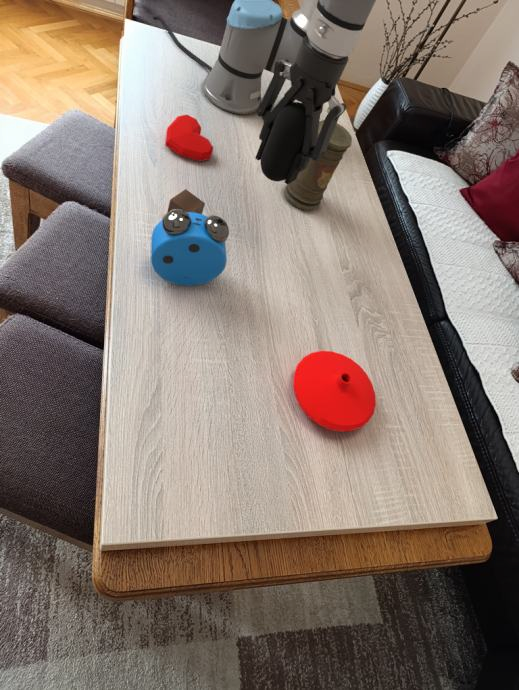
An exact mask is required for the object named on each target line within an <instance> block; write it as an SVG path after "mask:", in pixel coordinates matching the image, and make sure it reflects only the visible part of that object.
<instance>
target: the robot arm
mask: <svg viewBox="0 0 519 690" xmlns="http://www.w3.org/2000/svg"><path fill="white" fill-rule="evenodd" d="M376 1H377V0H304V1H303V4H302V6H301V8H299V9H296V10H295V11H293V12H292V14H291V17H290V19H287V18H285V17H283V16H284V15H283V9H282V7H281V6H280V4H278V3H276V2H275V1H273V0H234V1H233V2H232V5H231V7H230V10H229V13H228V16H227V17H226V25H225V30H224V34H223V36H222V37H223V38H222V41H221V44H220V49H219V52H218V56H217V59H216V61H215V63H213V64H214V65H213V66H211V65H209V64H208V63H207V62H206V61H204V60H202V59H201V58H200V57H198V56H197V55H196V54H194V53H193V52H192V51H190V50H189V49H188V48H186V47H185V46H184V45H183V44H182V43H181V42H180V41H179V40H178V38H177V36H176V35H175V33H174V32H173V31H172V29H171V28H170V27H169V26H168V24H167V22H166V21H165V20H164V19H163V18H162V17H161V15H154V16H153V17H152V19H153V20H155V21H156V20H158V21H159V22H160V23H161V24H162V25H163V28H164V29H165V30H166V32H168V34H169V35H170V37H171V39H172V40H173V42H174V43H175V44H176V46H178V47H179V48H180V49H181V50H182V51H183V52H184V53H185V54H187V55H188V56H190V57H191V58H192V59H193V60H195V61H196V62H197V63H199V64H200V65H201V66H203V67H204V68H206V69H207V70H208V71H210V72H208V74H207V75H206V77H205V79H204V81H203V85H202V90H203V93H204V94H205V96H206V98H207V99H208V101H210V102H211V104H213V105H214V106H216V107H217V108H219V109H222V110H223V111H226V112H228V113H232V114H236V115H251V114H253V113H256V114H257V116H258V117H261V119H262V122H263V124H262V128H261V130H260V133H259V136H258V137H259V138H258V139H259V140H260V141H261V142H260V145H259V147H258V150H257V153H256V155H255V160H256V161H261V156H262V153H263V150H264V148H265V145H266V143H267V140H268V137H269V135H270V132H271V130H272V127H273V124H274V122H275V119H276V117H277V115H278V113H279V111H280V110H281V109H282V108H284V107H285V106H286V105H288V104H289V103H292V102H299V103H302V104H303V105H304V106H305V107H306V111H305V115H306V130H305V135H304V142H303V150H302V151H300V152H298V153H297V155H296V157H295V160H294V162H293V164H292V166H291V168H290V171H289V173H288V175H287V177H286V179H285V180H284V183H285V184H286V186H287V185H288V184H289V183H291V182H293V181H294V180H296V178H297V176H298V174H299V171H300V172H301V171H303V170H304V169H306V168H307V165H308V163H309V161H310V159H311V158H312V159H313V160H314V161H315V160H317V159H319V158H321V157H323V156H324V155H325V152H326V150H327V147H328V145H329V142H330V139H331V137H332V134H333V132H334V129H335V127H336V124H337V123H338V121H339V119H340V117H341V116H342V115H343V114H344V112H346V110H347V105H346V103H344V102H342V103H340V101H339V100H338V98H337V97H336V88H337V85H338V83H339V81H340V79H341V77H342V75H343V73H344V71H345V68H346V66H347V64H348V62H349V56H351V55H352V54H353V52H354V50H355V47H356V45H357V42H358V41H359V39H360V36H361V34H362V32H363V29H364V27H365V25H366V22H367V20H368V18H369V16H370V14H371V12H372V9H373V8H374V6H375V4H376ZM264 71H267V72H269V73H272V77H271V80H270V82H269V84H268V86H267V88H266V90H265V93H264V94H263V98H262V75H263V73H264ZM286 80H288V81H290V87H289V89H287V91H286V92H285V93H284V94H283V97H281V99H280V100H279V101H278V103H277V104H276V105H275V103H276V101H277V99H278V97H279V94H280V93H281V91H282V89H283V87H284V84H285V83H286ZM326 103H328V107H327V109H326V112H327V114H326V116H325V118H324V123H323V126H322V129H321V131H320V134H319V137H318V139H317V136H318V128H319V122H320V121H321V114H322V113H323V110H324V104H326ZM274 105H275V106H274Z"/></svg>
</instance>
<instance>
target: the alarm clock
mask: <svg viewBox="0 0 519 690" xmlns="http://www.w3.org/2000/svg"><path fill="white" fill-rule="evenodd" d="M229 235H230V228H229V226H228V223H227V222H226V220H225V219H223V217H221V216H219V215H215V214H211V215H209V216H207V215H205V214H203V213H202V214H199V213H193V212H186V211H184V210H181V209H174V210H171V211H169V212H168V213H167V212H166V213H165V214H164V216H163V217H162V219H161V220H160V221H159V222H158V223H157V224H156V225H155V226H154V228H153V230H152V233H151V238H150V239H151V241H150V243H151V246H150V263H151V266H152V268H153V270H154V272H155V273H156V274H157V275H158V276H159V277H160V278H161V279H162V280H164V281H167V282H169V283H171V284H174V285H178V286H185V287H186V286H187V287H189V286H190V287H193V286H199V285H204V284H207V283H210V282H211V281H213V280H215V279H216V278H218V276H220V275H221V274H222V272H224V270H225V267H226V265H227V262H228V261H227V260H228V259H227V247H226V241H227V239H228V238H229Z"/></svg>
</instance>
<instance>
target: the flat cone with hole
mask: <svg viewBox="0 0 519 690" xmlns="http://www.w3.org/2000/svg"><path fill="white" fill-rule="evenodd" d="M293 374H294V375H293V383H292V387H293V392H294V396H295V397H294V398H295V399H296V401H297V403H298V405H299V407H300V408H301V410H302V411H303V412H304V414H305V415H306V416H307V418H309V419H311V420H312V421H313V422H314V423H315V424H316V425H318V426H321V427H323V428H325V429H327V430H330V431H335V432H351V431H354V430H358V429H360V428H363V426H365V425H366V424H368V423H369V422H370V420H371V418H372V417H373V415H374V413H375V410H376V406H377V405H376V401H377V400H376V399H377V398H376V393H375V389H374V385H373V383H372V381H371V379H370V378H369V375H368V374H367V372H365V370H364V369H363V368H362V366H361V365H360V364H358V363H357V362H356V361H355V360H353V359H352V358H350V357H348V356H346V355H344V354H342V353H339V352H335V351H331V350H317V351H314V352H311V353H309V354H307V355H305V356H304V357H302V359H301V360H300V361H299V362H298V363H297V366H296V368H295V371H294V373H293Z"/></svg>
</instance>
